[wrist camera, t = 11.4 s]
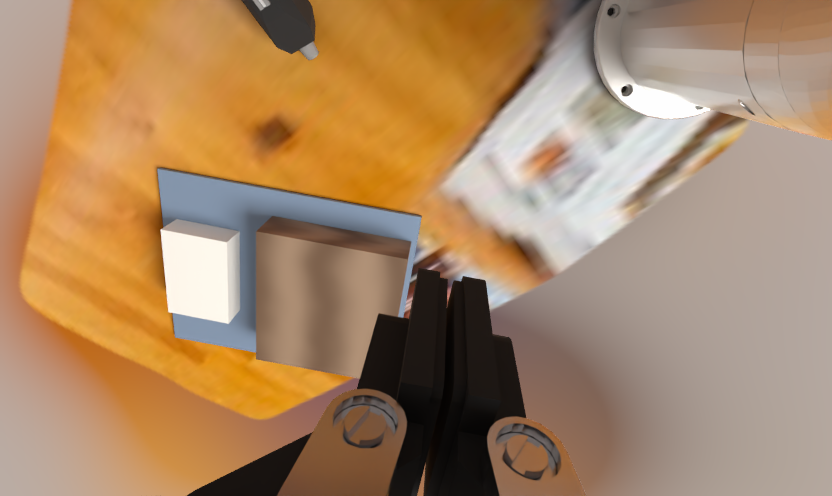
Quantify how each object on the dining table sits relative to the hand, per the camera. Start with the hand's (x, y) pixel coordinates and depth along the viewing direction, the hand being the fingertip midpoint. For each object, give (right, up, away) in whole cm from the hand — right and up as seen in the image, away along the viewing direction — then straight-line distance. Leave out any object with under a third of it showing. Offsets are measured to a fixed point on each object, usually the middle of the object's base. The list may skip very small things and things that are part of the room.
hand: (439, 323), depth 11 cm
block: (-9, -3, +32) cm, 33 cm away
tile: (-21, -1, +29) cm, 36 cm away
